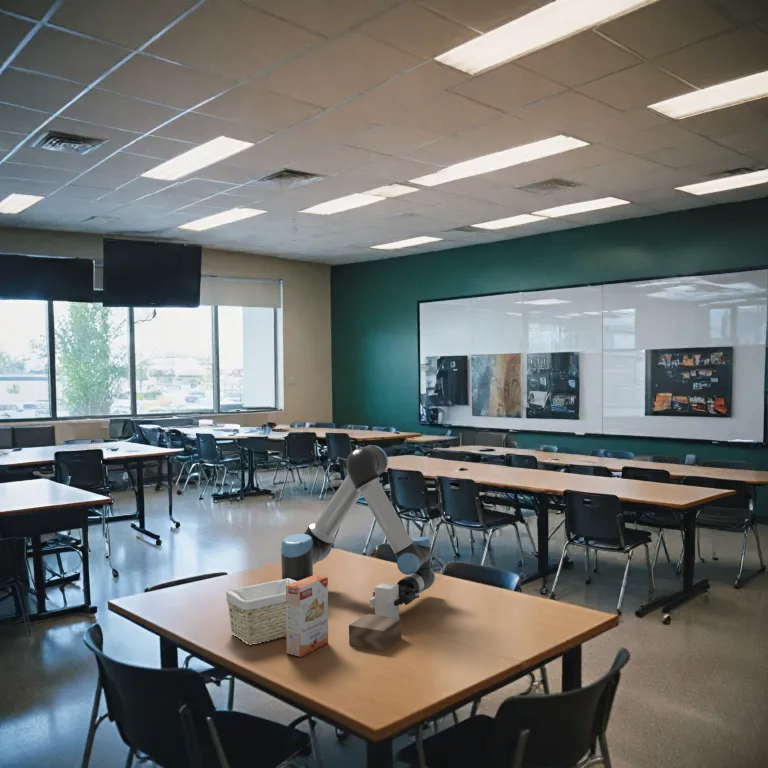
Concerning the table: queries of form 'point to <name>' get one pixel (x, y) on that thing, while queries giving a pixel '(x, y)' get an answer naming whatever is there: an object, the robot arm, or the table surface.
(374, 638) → the walnut block
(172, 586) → the table surface
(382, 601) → the white block
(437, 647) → the table surface
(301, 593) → the cracker box
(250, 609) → the storage basket
